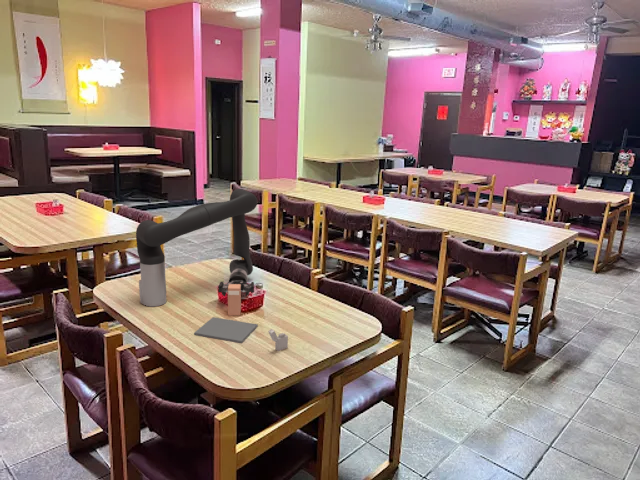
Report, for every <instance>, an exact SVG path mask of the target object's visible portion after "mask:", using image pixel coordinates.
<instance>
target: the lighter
mask: <svg viewBox="0 0 640 480" xmlns="http://www.w3.org/2000/svg"><path fill="white" fill-rule="evenodd" d="M267 332H268V334H269V336H270V338H271V340H272V341H273V342H274V343H275V347H274V350H276V351H277V352H280V351H282V350H285V349H288V347H289V344H288V343H289V335H287V334H286V333H284V332H282V333H278V336H277V334H276V331H275V330H274V329H273V328H270V329H269V330H268V331H267Z"/></svg>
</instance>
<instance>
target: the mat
mask: <svg viewBox="0 0 640 480" xmlns="http://www.w3.org/2000/svg"><path fill="white" fill-rule="evenodd" d="M258 327H259V325H258V324H257V323H253V322H252V323H251V322H247V321H239V320H233V319H228V318H220V317H215V316H213V317H211V318H210V319H209V320H207V321H206V323H204V324H203V325H202V326H201V327H199V328H198V329H197V330H196V331H194V336H198V337H203V338H204V337H205V338H210V339H215V340H221V341H228V342H232V343H238V344H243V343H245V340H247V339H248V338H249V336H250V335H251V334H252V333H253V332H254V331H255V330H256V329H257V328H258Z"/></svg>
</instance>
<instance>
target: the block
mask: <svg viewBox="0 0 640 480" xmlns="http://www.w3.org/2000/svg"><path fill="white" fill-rule="evenodd" d="M241 295H242V291H241V284H229V286H228V292H227V315H228V316H241V311H242V297H241Z"/></svg>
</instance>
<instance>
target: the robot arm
mask: <svg viewBox="0 0 640 480" xmlns="http://www.w3.org/2000/svg"><path fill="white" fill-rule="evenodd" d="M257 205H258V198H257V195H255V194H254V193H252V192H250V191H247V190H245V189H243V188H236V189H234V190H233V191H231V193H230V196H229V200H227V201H219V202H208V203H207V202H206V203H203V204H199V205H196V206H192V207H190V208H188V209H187V210H185V211H184V212H182V213H181V214H180V215H179V216H177V217H176V218H173V219H170V220H167V221H163V222H159V223H158V222H156V221H154V220H150V219H146V220H143V221H141V222H140V223H138V225H137V227H136V232H135V239H136V250H137V255H138V258H139V265H140V266H139V268H140V279H139V280H138V288H139V289H138V290H139V303H140V304H142V305H144V306H145V305H146V307H159V306H161V305H162V306H163V305H164V304H166V303H167V283H166V282H167V281H166V263H165V262H166V261H165V260H166V259H165V253H164V251H163V250H162V245H164V244H166V243H168V242H170V241H172V240H174V239H176V238H178V237H181V236H185V235H186V234H189V233H193V232H195V231H198V230H202V229H205V228H207V227H209V226H211V225H214V224H217V223H220V222H222V221H224V220H227V219H230V218H232V227H233V254H234V255H235V257H236V256H237V257H240V258H242V259H232V260H231V261H230V262H229V267H228V268H229V272H230V275H229V278H228V282H226V283H224V281H220V282H219V284H218V287H217V291H218V293H221V296H223V297H226V294H227V293H228V286H229V284H241V293H245V294H244V296H245V297H248V296H249V295H250V293H251V294H253V293H255V282H254V281H251V282H249V283H248V281H249V280H248V279H249V277H248V276H249V275H251V274H252V273H253V271H254V267H253V266H254V265H253V262H252V258H251V254H250V233H249V229H248V225H247V223H246V216H245V215H246V214H248V213H250V212H253V211H254V210H255V208H256V207H257Z"/></svg>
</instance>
